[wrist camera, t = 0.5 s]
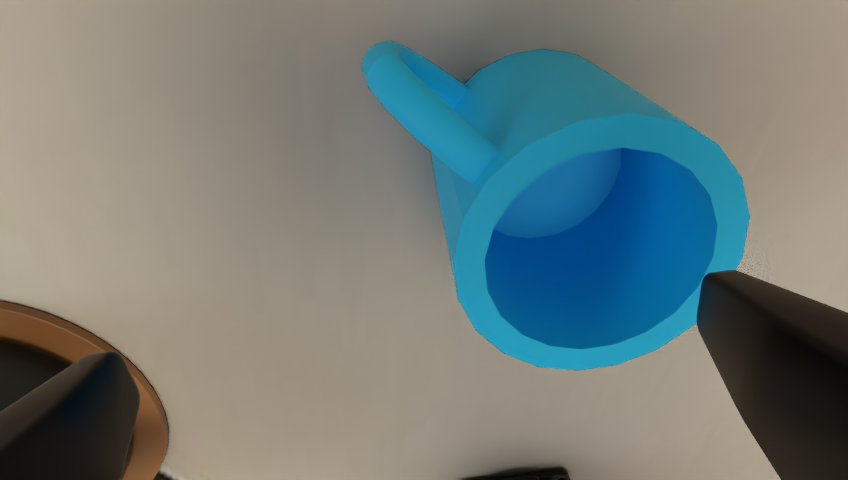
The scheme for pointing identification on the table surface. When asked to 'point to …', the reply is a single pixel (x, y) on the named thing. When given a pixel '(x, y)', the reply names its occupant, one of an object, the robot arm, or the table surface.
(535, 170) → the mug
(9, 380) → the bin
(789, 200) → the table surface
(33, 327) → the turntable
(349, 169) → the table surface
